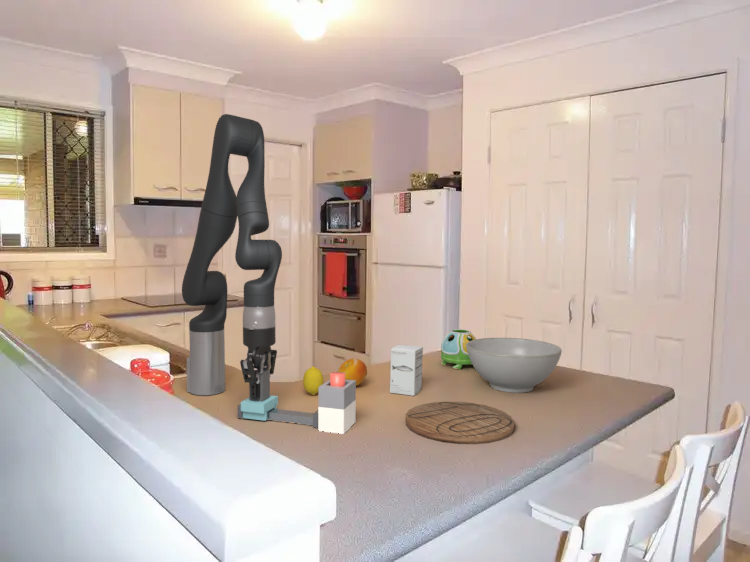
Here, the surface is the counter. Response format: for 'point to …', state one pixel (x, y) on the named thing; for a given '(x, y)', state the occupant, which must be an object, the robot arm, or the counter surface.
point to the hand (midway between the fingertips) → (259, 396)
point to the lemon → (312, 380)
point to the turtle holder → (456, 348)
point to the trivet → (459, 422)
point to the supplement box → (406, 369)
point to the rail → (289, 416)
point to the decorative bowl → (513, 362)
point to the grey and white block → (337, 407)
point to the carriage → (260, 400)
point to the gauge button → (337, 379)
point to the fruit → (354, 370)
